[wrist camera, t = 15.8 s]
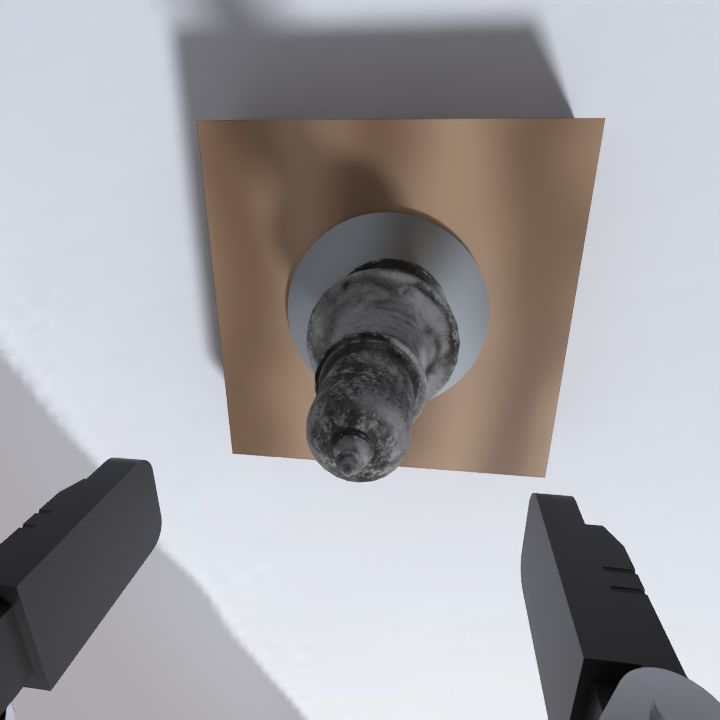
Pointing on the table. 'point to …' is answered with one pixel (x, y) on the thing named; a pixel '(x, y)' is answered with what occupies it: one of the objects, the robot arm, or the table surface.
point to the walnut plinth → (409, 243)
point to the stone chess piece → (376, 365)
